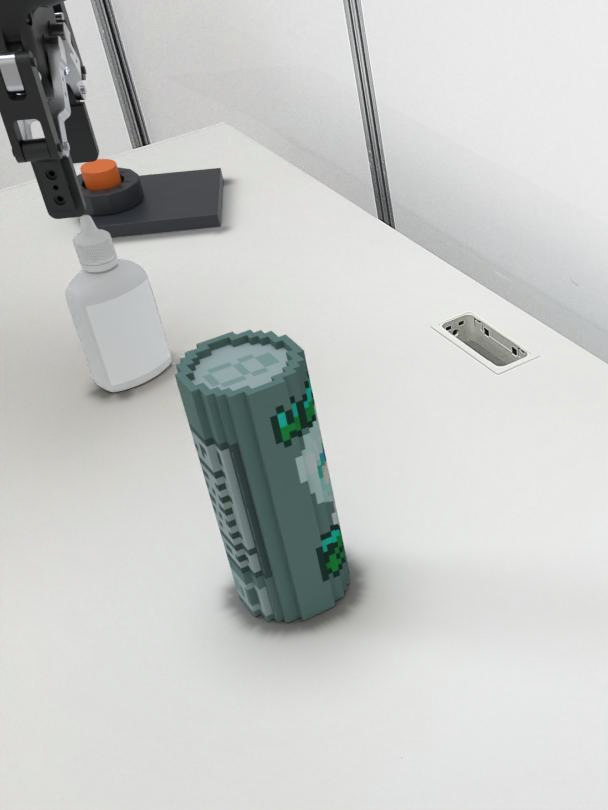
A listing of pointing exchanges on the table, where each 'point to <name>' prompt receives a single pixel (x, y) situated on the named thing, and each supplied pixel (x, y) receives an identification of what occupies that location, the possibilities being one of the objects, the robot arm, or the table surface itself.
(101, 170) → the button
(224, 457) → the can
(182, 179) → the dark grey base plate
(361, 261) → the table surface
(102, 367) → the eye dropper bottle
